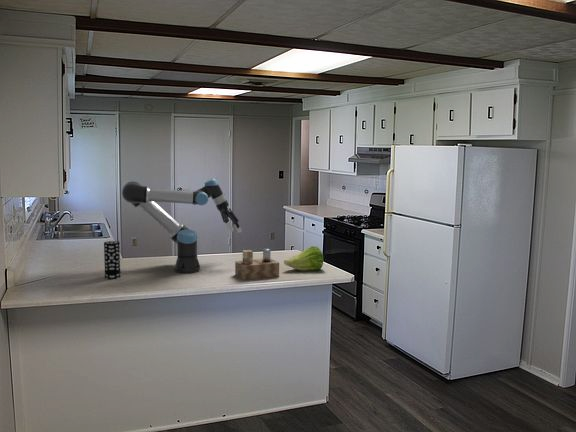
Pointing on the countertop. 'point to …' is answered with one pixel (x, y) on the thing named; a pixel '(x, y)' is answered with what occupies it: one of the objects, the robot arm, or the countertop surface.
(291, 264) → the lettuce
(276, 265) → the socket block
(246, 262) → the oak peg
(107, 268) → the white-spotted black cylinder
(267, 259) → the metal peg
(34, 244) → the countertop surface
